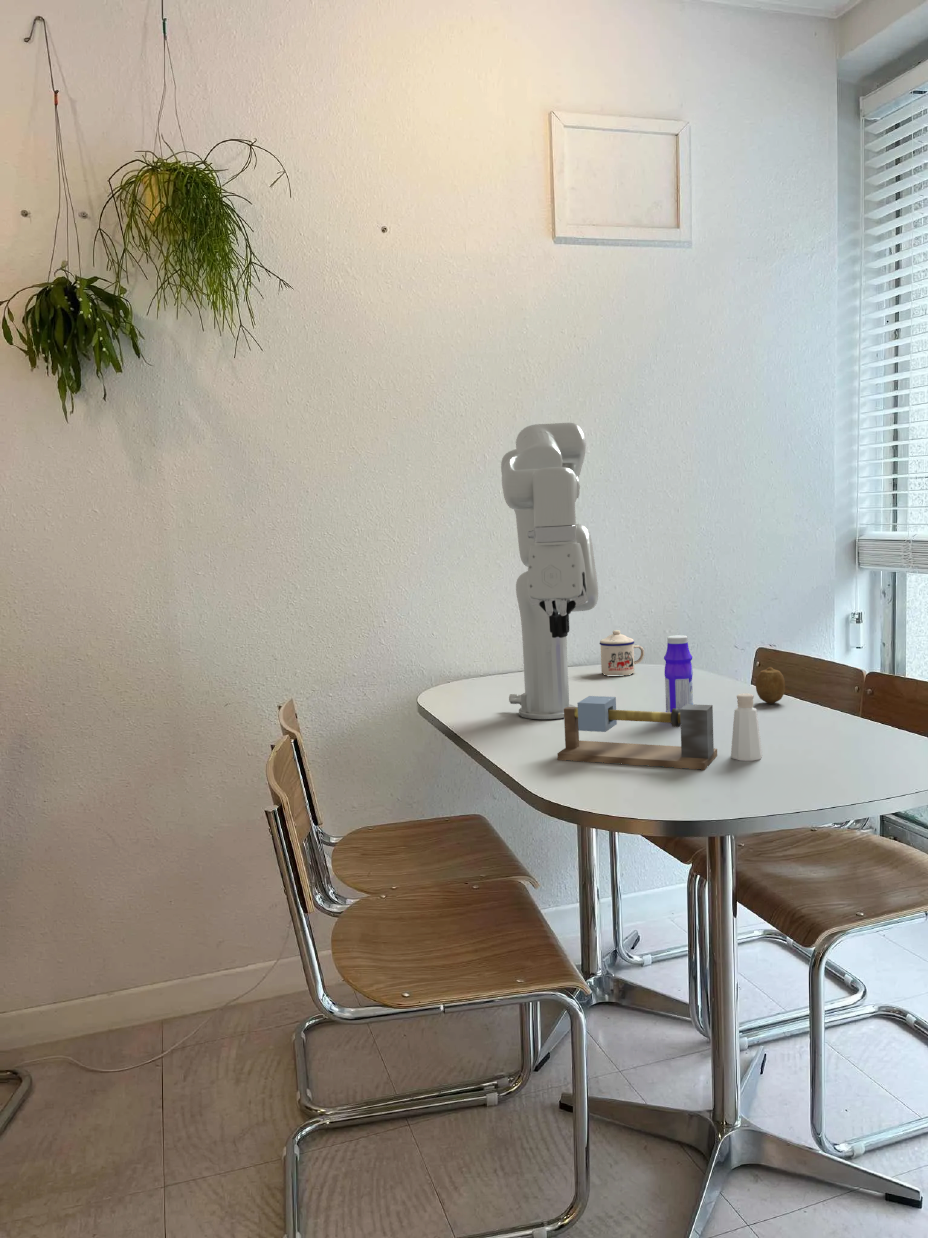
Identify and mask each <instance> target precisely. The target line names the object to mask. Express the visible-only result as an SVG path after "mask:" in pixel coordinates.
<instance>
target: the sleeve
mask: <svg viewBox="0 0 928 1238" xmlns="http://www.w3.org/2000/svg"><path fill="white" fill-rule="evenodd" d="M577 707H578V728H579V731H581V732H597V733H607V732H608V731H609V730H611V729H612V728H613V727H615V726H616V725H617V724H618V722H617V721H618V720H608V710H617V697H616V696H601V695H599V696H598V695H596V696H595V695H588V696H587V697H585V698H583V699H582V700H580V701H578V702H577Z"/></svg>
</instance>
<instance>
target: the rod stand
mask: <svg viewBox="0 0 928 1238" xmlns="http://www.w3.org/2000/svg"><path fill="white" fill-rule="evenodd" d="M713 709H714V708H713V705H712V704H694V703H693V704H686V705H685V706H683V707H682V708H681V709H677V708H673V709H672V712H666V711H649V710H628V709H627V710H626V709H623V710H622V709H616V710H608V720H617V721H626V722H627V721H628V722H629V721H630V722H646V723H647V722H649V723H666V724H667V723H668V724H671V727H672V728H680V745H665V744H664V745H662V744H661V745H660V744H646V743H645V744H643V743H629V742H627V743H625V742H612V741H594V740H593V741H592V740H580V733H579V728H578V706H575V707H566V708H564V718H563V723H564V742H565V743H564V745H565V747H564V748H563V749H562V750H560V751H558V752H557V754H556V755H557V761H566V760H571V761H570V762H581V761H582V762H581V763H583V761H584V763H595V762H602V763H601V764H610V763H620V764H619V765H624V764H629V765H628V766H639V765H649V766H648V767H653V766H664V767H663V768H668V767H674V768H673V769H682V768H689V769H688V770H697V769H701V770H700V771H705V770H706V769H707V768H708V767H709V766H710V764H711V763H712V762H713V761H714V760H715V758H716V757H717V756H718V748H716V747H715V746H714V718H713V717H714V713H713ZM714 747H715V748H714ZM572 760H573V761H572ZM603 762H604V763H603ZM621 763H622V764H621ZM707 766H708V767H707Z"/></svg>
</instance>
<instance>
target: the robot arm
mask: <svg viewBox="0 0 928 1238" xmlns="http://www.w3.org/2000/svg"><path fill="white" fill-rule="evenodd" d="M585 437H586V436H585V434H584V432H583V429H582V428H581V427H580V426H579V425H578V424H576V423H574V422H557V423H556V422H555V423H537V424H531V425H528V426H526V427H524V428H523V429H521V430H520V432H519V433H518V434H517V436H516V438H515V448H516V449H512V450H510V451H507V452H506V453H505V454H503V457H502V459H501V462H500V463H501V464H500V471H501V486H502V494H503V497H504V501H505V504H506V505H507V506H508V507H509V508H510V509H512V510H514V515H515V519H516V530H517V541H518V543H517V544H518V551H519V557H520V560H521V562H522V564H523V565H524V566H525V567H527V571H524V572H523V573H521V574H519V576H518V577H517V579H516V582H515V594H516V599H517V604H518V610H519V614H520V623H521V636H522V637H521V638H522V656H523V657H522V658H523V679H524V680H523V681H524V693H521V694H517V693H514V694H513V693H512V694H509V697H508V702H509V704H512V705H520V706H521V707H520V708H519V709H518V715H519V716H520V717H521V718H526V719H530V720H531V719H532V720H556V719H564V708H566V707H576V706H575V705H573V704H570V692H569V691H570V688H569V669H568V663H569V662H568V645H567V644H568V642H567V641H568V640H567V639H568V638H567V636H568V633H570V614H571V613H572V612H585V611H590V610H592V609H593V608H595V607H596V606H597V604H598V600H599V586H598V578H597V570H596V562H595V556H594V554H595V553H594V548H593V547H594V546H593V542H592V537H591V534H590V531H589V529H588V528H587V527H586V526H585V525H583V524H581V523H580V524H579V523H577V521H576V520H577V519H576V501H577V499H579V497H580V489H581V486H580V479H579V477H580V475H581V471H582V467H583V463H584V460H585V456H586V450H587V449H586V438H585Z"/></svg>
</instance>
